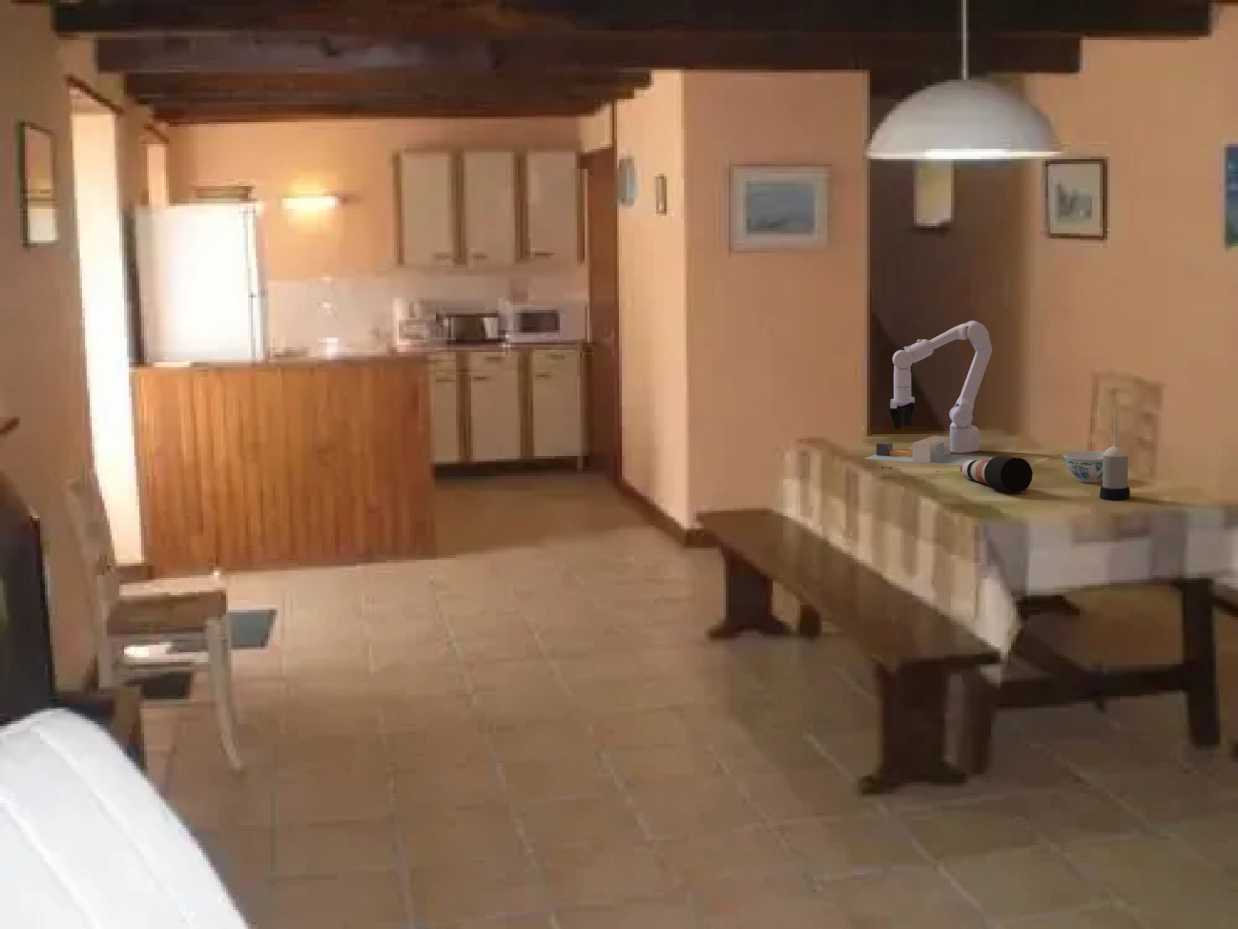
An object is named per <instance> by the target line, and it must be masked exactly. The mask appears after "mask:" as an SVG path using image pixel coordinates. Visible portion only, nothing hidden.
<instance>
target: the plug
mask: <svg viewBox="0 0 1238 929" xmlns="http://www.w3.org/2000/svg"><path fill="white" fill-rule="evenodd" d="M875 445H876V446H875V447H876V453H875V454H876V455H877V456H903V457H913V446H910V447H907V450H893V445H894V444H893V442H891V441H880V442H877V443H876V444H875Z"/></svg>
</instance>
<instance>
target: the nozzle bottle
mask: <svg viewBox="0 0 1238 929" xmlns="http://www.w3.org/2000/svg"><path fill="white" fill-rule="evenodd" d="M1113 424H1114V429H1113V430H1114V431H1113V445H1112V446H1110V447H1109V448H1107V449H1106V450H1105V451H1103V452H1104V454H1103V455H1104V456H1103V477H1102V485H1101V487H1100V489H1099V498H1100V499H1101V500H1104V501H1115V502H1116V501H1127V500H1130V498H1131V488H1130V487H1129V486H1128V482H1129V480H1128V479H1129V478H1128V476H1129V456H1128V455H1129V454H1128V452H1127V451H1126V450H1125V449H1124V447H1121V446H1119V445H1120V444H1119V442H1120V434H1118V432H1119V429H1120V422H1118V409H1114V422H1113Z"/></svg>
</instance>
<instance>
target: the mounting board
mask: <svg viewBox="0 0 1238 929" xmlns="http://www.w3.org/2000/svg"><path fill="white" fill-rule="evenodd" d="M994 457H995V456H994ZM994 457H993V456H981V455H980V456H979V455H967V454H965V455H964V454H951V453H950V455H949V456H946V457H936V461H933V462H930V463H928V462H916V463H919V464H920V463H921V464H932V465H934V464H935V465H949V466H959V467H960V466H962V465H963V464H964V463H965V462H966V461H968V460H991V459H992V458H994ZM863 459H865V460H877V461H878V460H879V461H892V462H893V461H894V462H902V463H904V462H906V463H915V462H914V461H913V457H903V456H877V455H876V453H875V454H873V455H870V456H867V457H864V458H863Z"/></svg>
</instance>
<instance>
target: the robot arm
mask: <svg viewBox="0 0 1238 929" xmlns="http://www.w3.org/2000/svg"><path fill="white" fill-rule="evenodd" d="M955 340H963V341H966V340H968V341H969V342H970V343H971V345H972V347H973V348H974V351H975V353H974V356H973V360H972V361H971V364H970V367H969V370H968V373H967V376H966V378H965V380H964V384H963V387H962V388H961V392H960V395H959V397H958V399H957V400H956V402H955V404H954V405H953V407H952V408H951V409H950V410H949V413H948V414H949V415H948V416H949V419H950V420H951V424H950V425H949V437H950V453H957V454H959V453H961V454H962V453H964V454H965V453H971V452H977V451H980V450H981V447H980V446H981V445H980V444H981V442H980V440H981V439H980V437H981V435H980V430H979V428H978V427H977V426H976V425H972V421H973V417H974V416H973V411H974V407H975V406H974V405H975V400H976V397H977V395H978V391H979V389H980V386H981V383H982V380H983V378H984V375H985V372H986V370H987V367H988V364H989V362H990V358H991V356H992V353H993V347H992V342H991V339H990V332H989V331H988V330H987V328H986V326H985V325H984V324H982V323H981V322H978V321H977V320H969V321H967V322H964V323H961V324H959V325H956V326H954V327H952V328H950V329H949V330H946V331H945V332H943V333H941V334H939V335H938V336H936V337H933V338H931V339H930V340H928V339H927V338H926V339H925V338H924V339H922V338H920V339H917V340H916V342H915V343H913V344H911V345H908V346H904V347H903V349H904V350H903V349H899V350H896V351H895V352H894V354H893V356H892V364H893V365H894V366H893V398H891V399H890V402H889V403H890V406H889V407H887V411H888V412H889V415H890V418H891V420H892V424H893V428H894V429H896V430H897V429H899V430H901V429H902V427H903V424H904V426H912V422H913V418H914V414H915V412H916V409H917V407H918V403H915V397H914V396H912V372H911V366H912V364H913V363H914V364H916V363H917V362H919V361H922V360H924V359H925V358H927V357H929V356H931V355H932V354H933V352H934V350H935V349H937V348H939V347H942V346H944V345H946V344H949V343H950V342H953V341H955Z"/></svg>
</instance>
